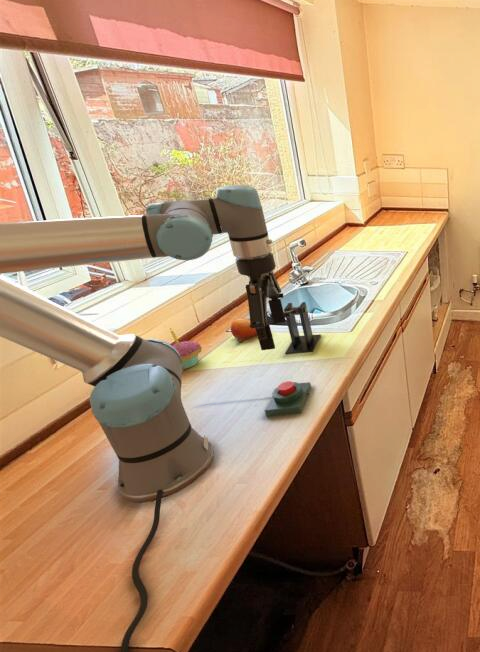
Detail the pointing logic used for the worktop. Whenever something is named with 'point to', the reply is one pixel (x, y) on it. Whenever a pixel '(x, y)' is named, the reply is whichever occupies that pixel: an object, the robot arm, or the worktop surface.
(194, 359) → the cupcake
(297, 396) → the button box
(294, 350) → the bracket
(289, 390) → the button
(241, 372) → the worktop surface
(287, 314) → the lever
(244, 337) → the fruit
